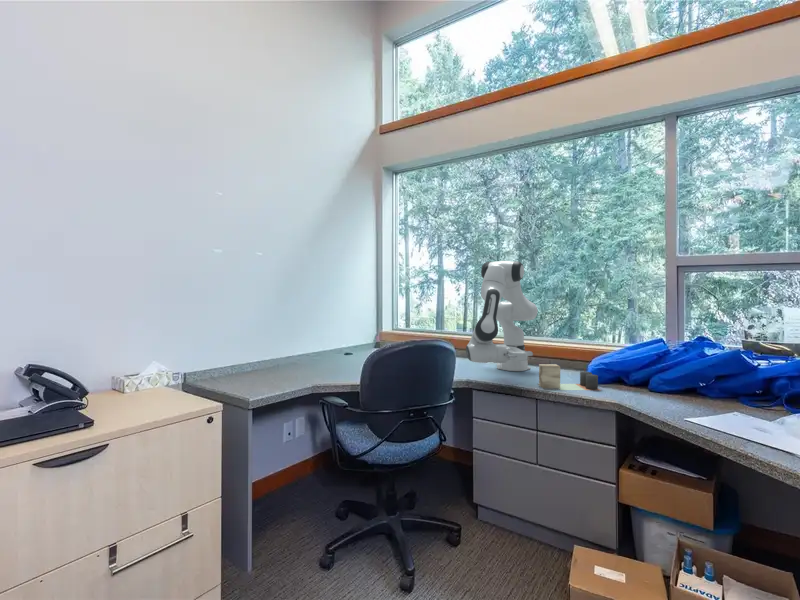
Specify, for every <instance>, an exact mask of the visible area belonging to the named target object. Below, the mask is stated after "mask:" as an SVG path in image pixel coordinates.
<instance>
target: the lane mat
mask: <svg viewBox="0 0 800 600" xmlns="http://www.w3.org/2000/svg"><path fill="white" fill-rule="evenodd" d="M537 386H539V383H537ZM542 389H543V391H590V390H589V389H586V387H585V386H581V385H580V383H560V388H542ZM597 391H601V388H598V390H597Z"/></svg>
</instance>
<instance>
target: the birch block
mask: <svg viewBox="0 0 800 600" xmlns="http://www.w3.org/2000/svg"><path fill="white" fill-rule="evenodd" d="M538 384H539V385H538V387H540V388H541V389H543V388H560V384H561V366H560V365H558V364H556V363H554V364H552V363H551V364H549V363H548V364H547V363H546V364H544V363H541V364H540V363H539V364H538Z"/></svg>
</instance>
